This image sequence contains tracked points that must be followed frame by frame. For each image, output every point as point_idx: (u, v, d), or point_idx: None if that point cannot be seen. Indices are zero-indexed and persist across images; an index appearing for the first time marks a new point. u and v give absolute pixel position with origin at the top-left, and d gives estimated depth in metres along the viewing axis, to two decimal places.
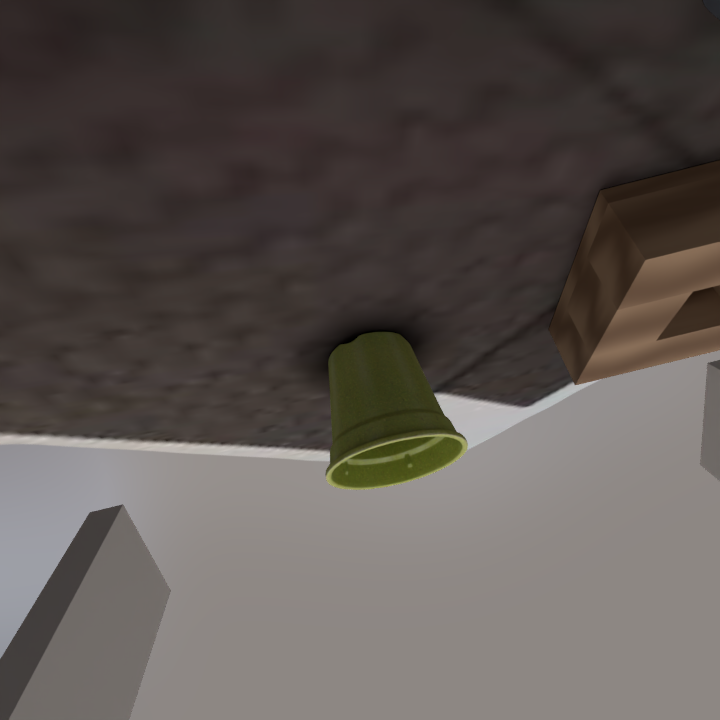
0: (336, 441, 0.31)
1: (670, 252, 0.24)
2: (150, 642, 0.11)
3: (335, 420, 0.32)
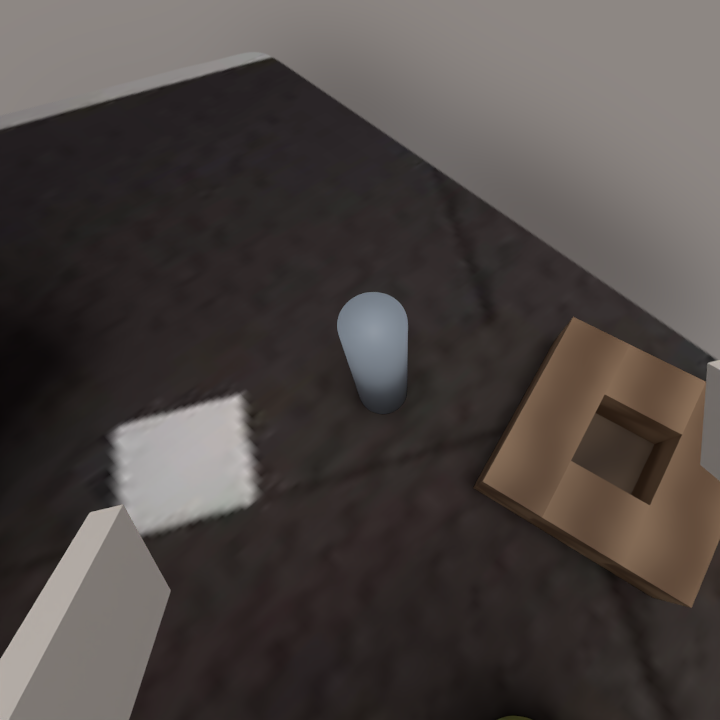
0: None
1: (491, 465, 0.34)
2: (150, 642, 0.11)
3: None
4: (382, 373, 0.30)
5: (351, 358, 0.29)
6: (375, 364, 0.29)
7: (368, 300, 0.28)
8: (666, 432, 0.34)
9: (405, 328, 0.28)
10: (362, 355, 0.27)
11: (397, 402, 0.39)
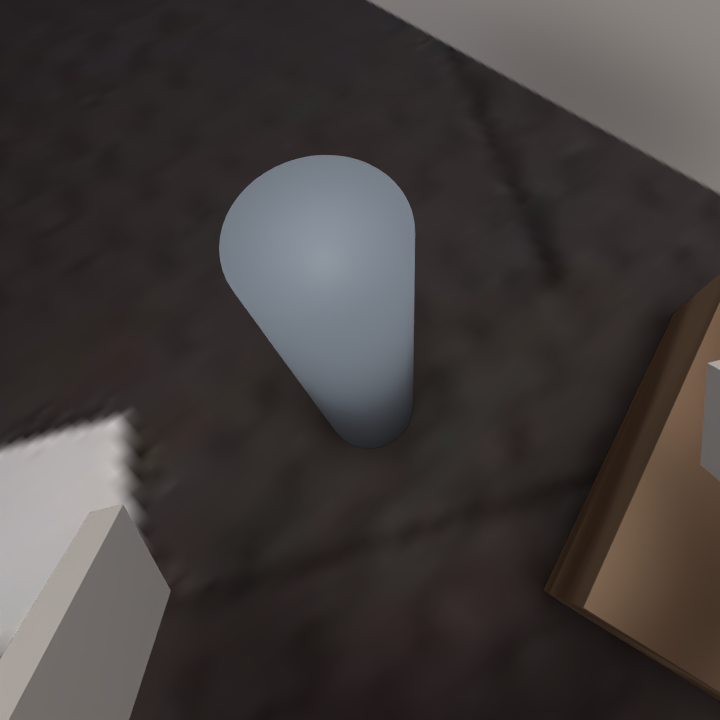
0: None
1: (599, 570, 0.16)
2: (149, 642, 0.11)
3: None
4: (353, 373, 0.12)
5: (268, 335, 0.11)
6: (328, 349, 0.11)
7: (307, 176, 0.11)
8: None
9: (408, 243, 0.10)
10: (286, 320, 0.09)
11: (395, 429, 0.20)
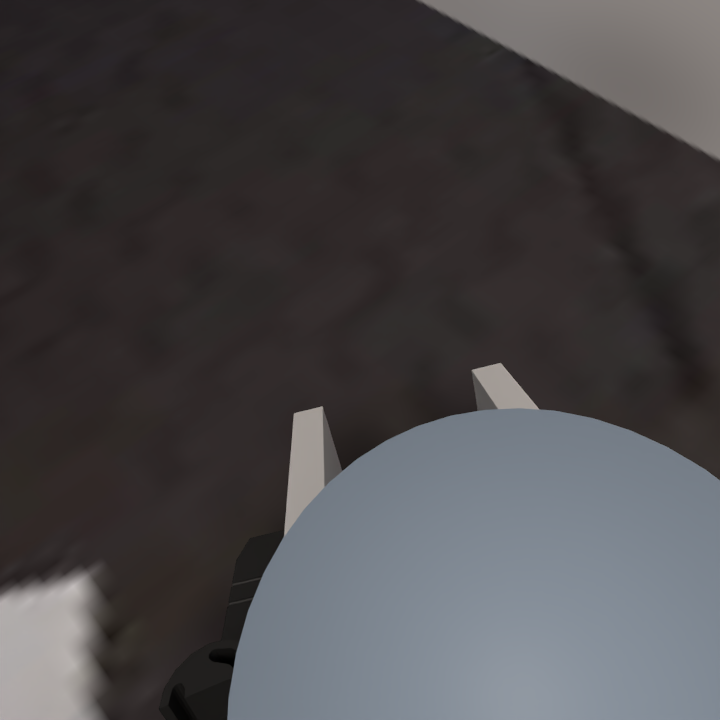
0: None
1: None
2: None
3: None
4: None
5: None
6: None
7: (486, 480, 0.04)
8: None
9: None
10: None
11: None
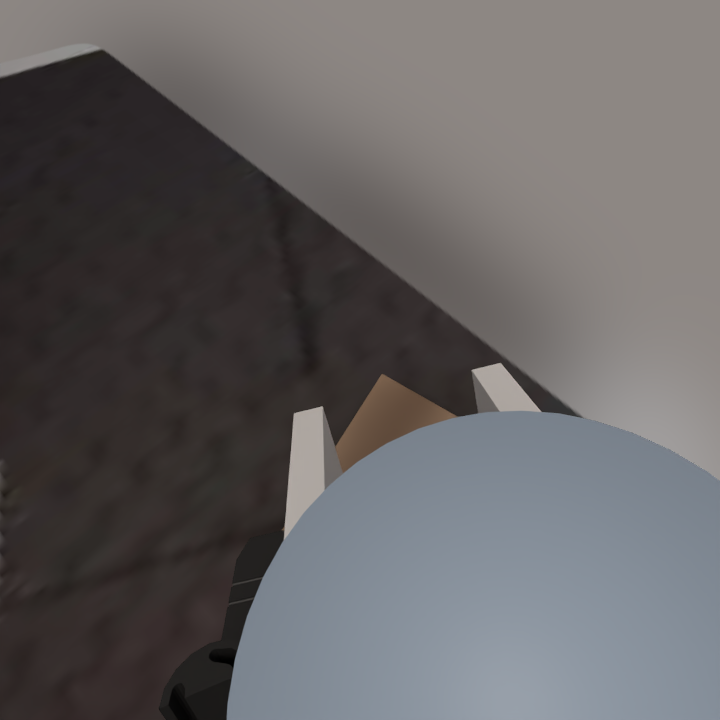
0: None
1: None
2: None
3: None
4: None
5: None
6: None
7: (487, 484, 0.04)
8: None
9: None
10: None
11: None
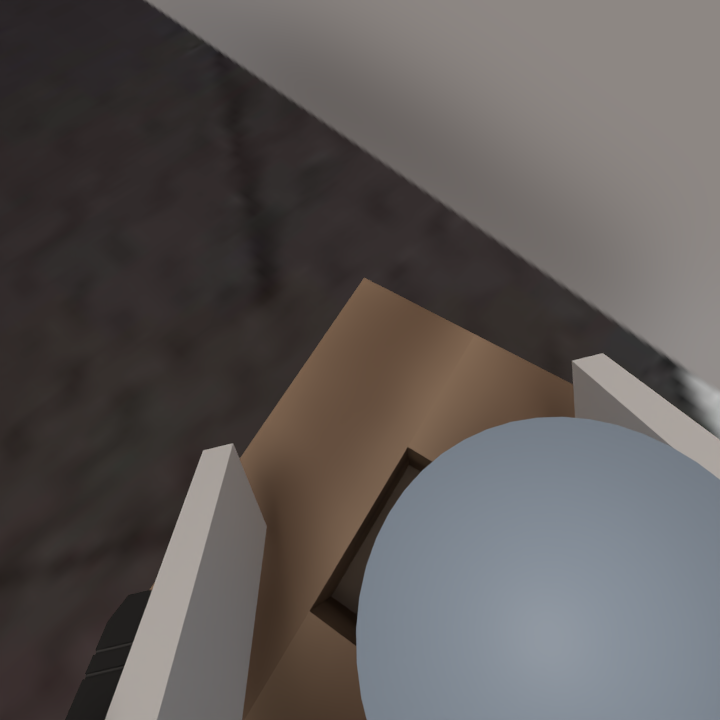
0: None
1: None
2: (257, 565, 0.12)
3: None
4: None
5: None
6: None
7: (540, 470, 0.05)
8: None
9: None
10: None
11: None
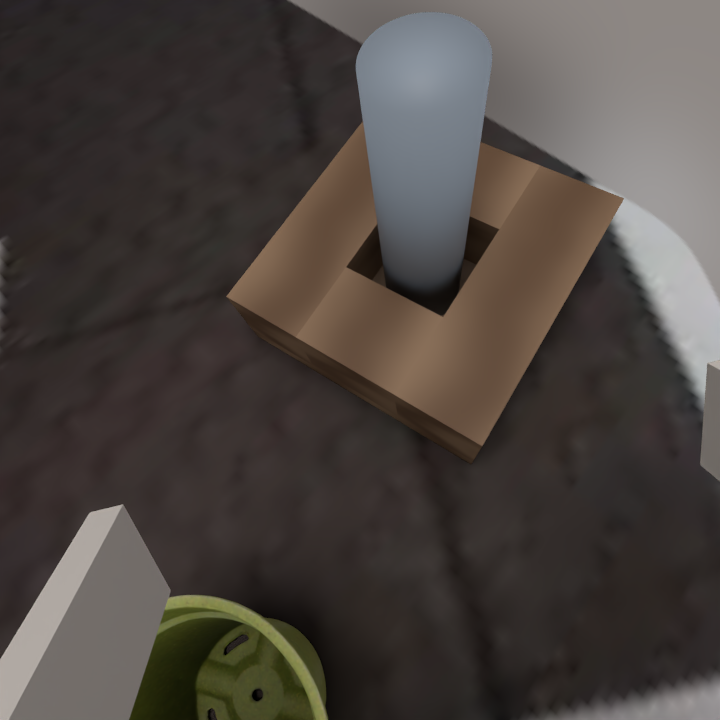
0: None
1: (241, 277, 0.25)
2: (150, 642, 0.11)
3: None
4: (436, 184, 0.17)
5: (382, 142, 0.16)
6: (427, 144, 0.15)
7: (414, 25, 0.15)
8: (485, 234, 0.25)
9: (488, 61, 0.14)
10: (406, 109, 0.14)
11: (447, 294, 0.25)
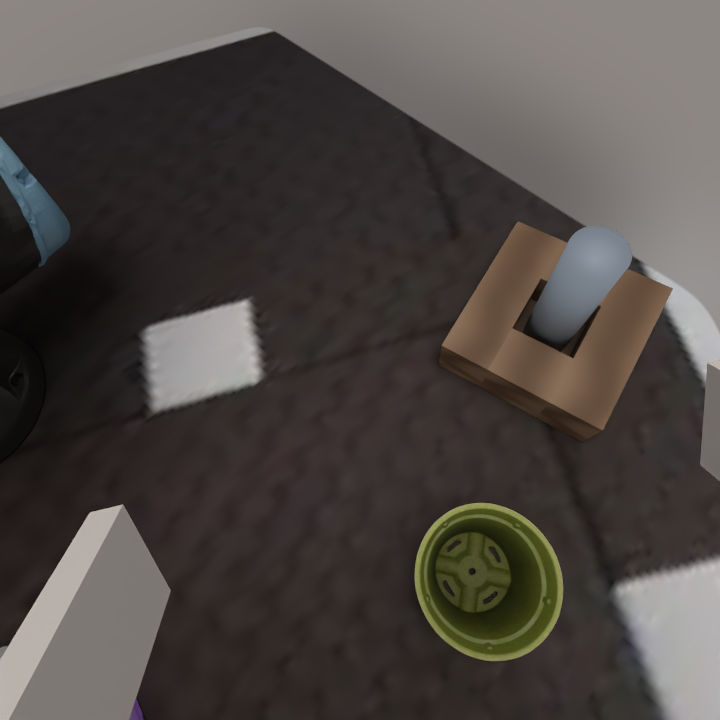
0: None
1: None
2: (149, 642, 0.11)
3: (434, 600, 0.35)
4: (593, 301, 0.34)
5: (573, 285, 0.33)
6: (598, 288, 0.32)
7: (592, 232, 0.32)
8: None
9: (630, 255, 0.32)
10: (595, 278, 0.31)
11: (568, 342, 0.42)
